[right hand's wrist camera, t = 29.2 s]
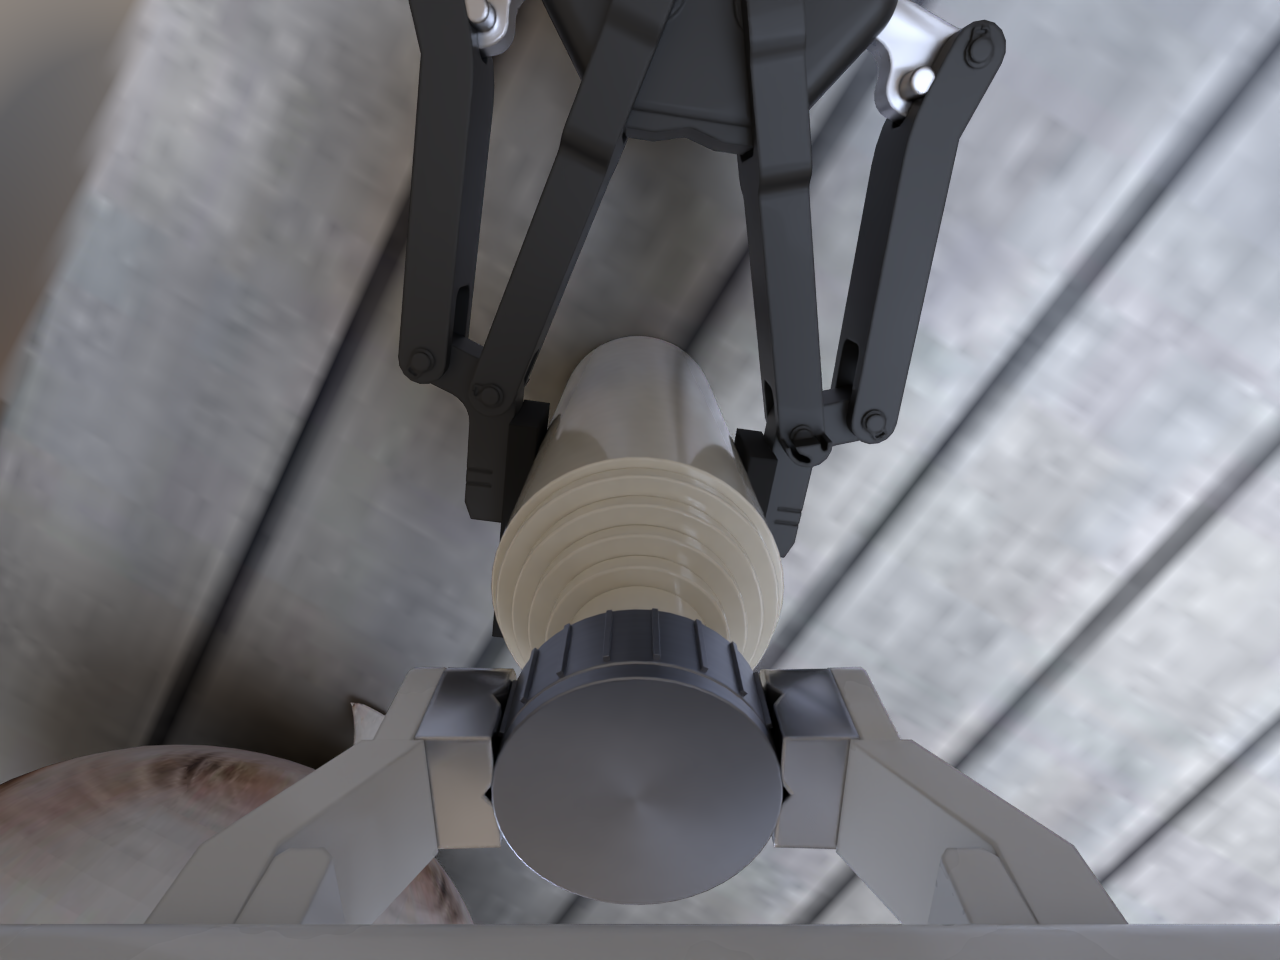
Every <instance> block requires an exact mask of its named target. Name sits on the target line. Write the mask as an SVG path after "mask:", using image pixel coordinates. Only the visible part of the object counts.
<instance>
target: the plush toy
mask: <svg viewBox="0 0 1280 960" xmlns="http://www.w3.org/2000/svg"><path fill="white" fill-rule="evenodd" d="M350 703H351V705H352V710H353V717H354V743H353V746H354V745H355V744H357V743H358V742H360V741H361V740H373V738H374V736H375V734H376V732H377V730H378V728H379V727H380V725H381V723H382V721H383V719H384V717H385V715H383V714H381V713H380V712H378V711H376V710H374V709H372V708H370V707H368V706H366V705H364V704H360V703H353V702H350ZM313 771H315V769H313V768H310V767H307V766H304V765H301V764H299V763H296V762H293V761H290V760H286V759H282V758H278V757H274V756H271V755H267V754H263V753H257V752H252V751H247V750H241V749H236V748H227V747H218V746H209V745H155V746H140V747H133V748H126V749H119V750H112V751H107V752H102V753H97V754H92V755H87V756H82V757H77V758H74V759H70V760H67V761H63V762H60V763H56V764H53V765H49V766H46V767H43V768H40V769H38V770H35V771H32V772H30V773H27V774H24V775H22V776H19V777H16V778H14V779H11V780H9V781H7V782H5V783H3V784H1V785H0V924H144V922H145V921H146V919H147V918H148V917H149V915H150V914H151V912H152V911H153V910H154V908H155V907H156V905H157V904H158V903H159V901H160V900H161V898H162V897H163V896H164V894H165V893H166V891H167V890H168V889H169V887H170V886H171V884H172V883H173V882H174V880H175V879H176V877H177V876H178V875H179V873H180V872H181V870H182V869H183V868H184V866H185V865H186V863H187V862H188V861H189V859H190V858H191V856H192V855H193V854H194V852H195V851H196V849H197V848H198V847H199V845H200V844H201V843H203V842H205V841H206V840H208V839H209V838H211V837H212V836H214V835H215V834H217V833H219V832H220V831H222V830H223V829H225V828H226V827H228V826H229V825H231V824H233V823H234V822H236V821H237V820H239V819H240V818H242V817H243V816H245V815H246V814H248V813H250V812H251V811H253V810H254V809H256V808H257V807H259V806H260V805H262V804H264V803H265V802H267V801H268V800H270V799H271V798H273V797H274V796H276V795H278V794H279V793H281V792H282V791H284V790H285V789H287V788H288V787H290V786H292V785H293V784H295V783H296V782H298V781H299V780H301V779H302V778H304V777H306V776H307V775H309V774H310V773H312V772H313ZM372 924H474V923H473V921H472V918H471V916H470V914H469V911H468V909H467V907H466V904H465V903H464V901H463V899H462V897H461V896H460V894H459V892H458V890H457V889H456V887H455V885H454V884H453V882H452V880H451V879H450V878H449V876H448V875H447V873H446V872H445V871H444V869H443V868H442V866H441V865H440V863H439V862H438V861H437V859H436V858H435V857H434V858H433V859H432V860H431V861H430V862H429V863H428V864H427V865H426V866H425V868H424V869H423V870H422V871H421V872H420V873H419V874H418V875H417V876H416V877H415V878H414V879H413V880H412V881H411V883H410V884H409V885H408V886H407V887H406V888H405V889H404V890H403V891H402V892H401V893H400V894H399V895H398V897H397V898H396V899H395V900H394V901H393V902H392V903H391V904H390V905H389V906H388V907H387V908H386V909H385V911H384V912H383V913H382V914H381V915H380V916H379V917H378V918H377V919H376V920H375V921H374V922H373V923H372Z"/></svg>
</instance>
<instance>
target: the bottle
mask: <svg viewBox="0 0 1280 960" xmlns="http://www.w3.org/2000/svg"><path fill="white" fill-rule="evenodd" d="M491 590H492V602H493V607H494V611H495V615H496V620H497V622H498V625H499V627H500V630H501V632H502V635H503V637H504V640H505V642H506V645H507V647H508V649H509V650H510V652H511V654H512V656H513V658H514V659H515V661H516V662H517V664H518V665H519V666H520V668H521V669H522V670H523V668H524V666H525V665H526V663H527V662H528V661H529V659H530V656H531V652H532V650H533V649H534V648H537V649H539V648H540V647H541V645H542V644H544V643H545V642H546V641H547V640H549V639H550V638H551V637H552V636H554V635H555V634H556V633H558V632H560V631H561V630H563V629H564V626H565V625H566V624H568V623H570V625H572V624H574V623H576V622H578V621H580V620H583V619H585V618H588V617H591V616H594V615H598V614H601V613H606V611H607V610H612V611H617V610H628V609H647V610H652V608H656V609H658V611H664V612H670V613H673V614H677V615H681V616H684V617H687V618H690V619H692V620H694V621H695V620H696V619H698V620H700V621H701V622H702V624H703V625H705V626H707V627H709V628H710V629H712V630H714V631H716V632H717V633H718V634H720V635H721V636H722V637H724V638H725V639H726V640H728V641H729V642H730V643H731V642H732V641H733V642H734V643H736V645H737V649H738V651H739V652H740V653H741V654H742V656H743V657H744V658H745V660H746V661H747V662H748V664H749V665H750V667H751V669H752V671H753V669H754V668H755V667H756V665H757V664H758V663H759V661H760V660H761V658H762V656H763V654H764V653H765V651H766V649H767V647H768V645H769V643H770V640H771V638H772V636H773V633H774V631H775V628H776V626H777V623H778V620H779V617H780V613H781V608H782V604H783V593H784V577H783V567H782V563H781V558H780V554H779V550H778V548H777V545H776V543H775V540H774V537H773V535H772V533H771V530H770V528H769V525H768V523H767V521H766V518H765V516H764V513H763V511H762V509H761V506H760V504H759V502H758V499H757V497H756V494H755V492H754V490H753V487H752V485H751V482H750V480H749V478H748V475H747V473H746V471H745V468H744V466H743V463H742V461H741V459H740V456H739V454H738V451H737V449H736V447H735V444H734V442H733V440H732V437H731V435H730V432H729V430H728V428H727V425H726V423H725V420H724V418H723V416H722V413H721V411H720V409H719V406H718V404H717V401H716V399H715V397H714V394H713V392H712V389H711V387H710V385H709V382H708V380H707V378H706V376H705V374H704V372H703V371H702V369H701V368H700V367H699V365H698V364H697V363H696V362H695V360H694V359H693V358H692V357H691V356H690V355H688V354H687V353H686V352H685V351H683V350H682V349H680V348H679V347H677V346H675V345H674V344H672V343H669V342H667V341H664V340H661V339H658V338H654V337H647V336H629V337H622V338H619V339H615V340H612V341H609V342H607V343H605V344H602V345H601V346H599V347H597V348H596V349H594V350H593V351H592V352H590V353H589V354H588V355H586V356H585V358H584V359H583V360H582V361H581V362H580V363H579V364H578V365H577V367H576V368H575V369H574V371H573V373H572V374H571V376H570V378H569V380H568V383H567V385H566V387H565V390H564V392H563V394H562V397H561V399H560V401H559V404H558V406H557V408H556V411H555V413H554V415H553V418H552V420H551V423H550V425H549V427H548V430H547V432H546V434H545V437H544V439H543V441H542V444H541V446H540V448H539V451H538V453H537V455H536V458H535V460H534V463H533V465H532V467H531V470H530V472H529V474H528V477H527V479H526V481H525V484H524V486H523V488H522V491H521V493H520V496H519V498H518V500H517V503H516V505H515V507H514V510H513V512H512V514H511V517H510V519H509V521H508V524H507V526H506V528H505V531H504V533H503V536H502V538H501V541H500V543H499V546H498V549H497V551H496V555H495V559H494V564H493V569H492V582H491Z"/></svg>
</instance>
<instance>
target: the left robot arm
mask: <svg viewBox="0 0 1280 960" xmlns="http://www.w3.org/2000/svg"><path fill="white" fill-rule="evenodd" d="M524 1H525V0H409V4H410V9H411V13H412V17H413V22H414V26H415V30H416V35H417V39H418V43H419V47H420V52H421V60H420V73H419V87H418V100H417V113H416V127H415V140H414V154H413V167H412V180H411V194H410V207H409V220H408V234H407V247H406V261H405V274H404V287H403V301H402V314H401V327H400V341H399V354H398V358H399V366H400V368H401V369H402V371H403V373H404V375H406V376H407V377H408V378H409V379H410V380H412V381H414V382H417V383H419V384H429V383H431V384H433V385H435V386H437V387H439V388H441V389H443V390H445V391H447V392H449V393H451V394H453V395H454V396H456V397H457V398H458V399H459V400H460V401H461V402H462V403H463V404H464V406H465V407H466V409H467V412H468V415H469V439H468V456H467V474H466V491H465V504H466V506H467V509H468V512H469V515H470V518H471V519H476V520H484V521H492V522H500V523H501V532H500V541H501V538H502V536H503V533H504V531H505V528H506V526H507V524H508V521H509V519H510V517H511V514H512V512H513V510H514V507H515V505H516V503H517V500H518V498H519V496H520V493H521V491H522V488H523V486H524V484H525V481H526V479H527V477H528V474H529V472H530V470H531V467H532V465H533V463H534V460H535V458H536V455H537V453H538V451H539V448H540V446H541V444H542V441H543V439H544V437H545V434H546V432H547V426H548V416H549V406H550V403H545V402H537V401H530V400H524V402H523V395H524V387H525V386H526V384H527V383H528V381H529V380H530V379H529V376H530V374H531V371H532V369H533V366H534V364H535V361H536V359H537V357H538V354H539V352H540V349H541V347H542V344H543V342H544V339H545V337H546V335H547V332H548V330H549V327H550V325H551V322H552V320H553V317H554V315H555V313H556V310H557V308H558V305H559V303H560V300H561V298H562V295H563V293H564V291H565V288H566V286H567V283H568V281H569V278H570V276H571V273H572V271H573V269H574V266H575V264H576V261H577V259H578V256H579V254H580V251H581V249H582V247H583V244H584V242H585V239H586V237H587V234H588V232H589V229H590V227H591V225H592V222H593V220H594V217H595V215H596V212H597V210H598V207H599V205H600V203H601V200H602V198H603V195H604V193H605V190H606V188H607V185H608V183H609V181H610V178H611V176H612V174H613V172H614V170H615V168H616V166H617V164H618V161H619V159H620V156H621V154H622V152H623V149H624V147H625V144H626V142H627V139H628V137H629V138H635V139H642V140H648V141H661V140H668V139H675V138H683V137H684V138H688V139H690V140H692V141H695V142H697V143H699V144H701V145H703V146H705V147H707V148H709V149H711V150H714V151H719V152H726V153H732V154H737V159H738V169H739V179H740V186H741V190H742V193H743V197H744V204H745V215H746V225H747V235H748V246H749V256H750V267H751V277H752V287H753V298H754V308H755V318H756V329H757V339H758V350H759V360H760V370H761V381H762V391H763V401H764V412H765V419H766V422H767V423H766V428H765V433H764V435H763V433H762V432H760V431H753V430H745V429H738V428H737V432H736V437H735V442H734V444H735V447H736V449H737V451H738V454H739V456H740V459H741V461H742V463H743V466H744V468H745V471H746V473H747V475H748V478H749V480H750V482H751V485H752V487H753V490H754V492H755V494H756V497H757V499H758V502H759V504H760V506H761V509H762V511H763V513H764V516H765V518H766V521H767V523H768V525H769V528H770V530H771V533H772V535H773V537H774V540H775V543H776V545H777V548H778V550H779V554H780V557H783V558H784V557H785V556H786V554H787V553H788V551H789V550H790V549H791V547H792V546H793V544H794V543H795V538H796V534H797V530H798V524H799V521H800V517H801V511H802V509H803V505H804V500H805V496H806V492H807V488H808V483H809V479H810V475H811V471H812V467H813V466H816V465H819V464H821V463H822V462H823V461H824V460H826V459H827V457H828V456H829V454H830V452H831V449H832V446H835V445H839V444H844V443H849V442H854V441H859V440H860V441H861V442H864V443H868V444H875V443H880V442H882V441H884V440H886V439H887V438H888V437H889V436H890V435H891V434H892V433H893V431H894V429H895V427H896V424H897V420H898V415H899V411H900V406H901V402H902V397H903V393H904V388H905V383H906V379H907V374H908V370H909V365H910V361H911V356H912V352H913V347H914V343H915V338H916V333H917V329H918V324H919V320H920V315H921V311H922V306H923V302H924V297H925V292H926V288H927V283H928V279H929V274H930V270H931V265H932V261H933V256H934V252H935V247H936V242H937V238H938V233H939V229H940V224H941V220H942V215H943V211H944V206H945V202H946V197H947V192H948V188H949V183H950V179H951V174H952V170H953V165H954V161H955V156H956V151H957V147H958V142H959V139H960V137H961V135H962V133H963V131H964V130H965V128H966V126H967V124H968V122H969V121H970V119H971V117H972V115H973V114H974V112H975V110H976V108H977V106H978V105H979V103H980V101H981V99H982V98H983V96H984V94H985V92H986V90H987V89H988V87H989V85H990V83H991V82H992V80H993V78H994V76H995V74H996V73H997V71H998V69H999V67H1000V66H1001V64H1002V61H1003V58H1004V55H1005V53H1006V40H1005V37H1004V34H1003V32H1002V30H1001V29H1000V28H999V27H998V26H997V25H996V24H995V23H994V22H990V21H987V20H981V21H975V22H972V23H971V24H969V25H967V26H966V27H964V28H962V29H959V28H957V27H955V26H953V25H952V24H950V23H948V22H946V21H945V20H943V19H941V18H940V17H938V16H936V15H934V14H933V13H931V12H929V11H928V10H926V9H924V8H922V7H921V6H919V5H917V4H916V3H914V2H912V1H910V0H542V2H543V4H544V6H545V8H546V10H547V12H548V14H549V16H550V18H551V20H552V22H553V24H554V26H555V28H556V30H557V32H558V34H559V36H560V38H561V40H562V42H563V44H564V46H565V48H566V50H567V52H568V54H569V56H570V58H571V60H572V62H573V64H574V66H575V68H576V70H577V73H578V75H579V77H580V79H581V84H580V87H579V89H578V92H577V94H576V97H575V100H574V102H573V105H572V108H571V110H570V113H569V116H568V118H567V121H566V124H565V127H564V130H563V133H562V137H561V142H560V146H559V150H558V153H557V156H556V158H555V161H554V163H553V166H552V169H551V171H550V174H549V177H548V179H547V182H546V184H545V187H544V190H543V192H542V195H541V198H540V200H539V203H538V205H537V208H536V211H535V213H534V216H533V219H532V221H531V224H530V226H529V229H528V232H527V234H526V237H525V240H524V242H523V245H522V247H521V250H520V253H519V255H518V258H517V261H516V263H515V266H514V268H513V271H512V274H511V276H510V279H509V282H508V284H507V287H506V290H505V292H504V295H503V297H502V300H501V303H500V305H499V308H498V311H497V313H496V316H495V318H494V321H493V324H492V326H491V329H490V332H489V334H488V337H487V339H486V342H485V345H484V347H483V346H481V345H479V344H477V343H475V342H473V341H472V340H470V339H468V335H469V326H470V316H471V307H472V298H473V288H474V279H475V270H476V261H477V251H478V242H479V233H480V224H481V214H482V205H483V196H484V187H485V177H486V168H487V159H488V150H489V140H490V131H491V122H492V113H493V100H494V70H493V60H492V56H495V55H498V54H501V53H503V52H504V51H506V50H507V49H508V48H509V47H510V45H511V44H512V42H513V39H514V36H515V22H516V15H517V12H518V9H519V7H520V6H521V4H522V3H523V2H524ZM865 49H867V50H868V51H869V52H870V53H872V55H873V56H874V58H875V60H876V62H877V66H878V79H877V83H876V87H875V91H874V101H875V104H876V108H877V109H878V111H879V112H880V113H881V114H882V115H883V116H884V117H886V118H887V119H886V121H885V123H884V125H883V128H882V130H881V133H880V136H879V139H878V142H877V145H876V149H875V153H874V157H873V161H872V165H871V171H870V176H869V182H868V187H867V193H866V198H865V204H864V209H863V215H862V220H861V226H860V231H859V236H858V242H857V247H856V253H855V258H854V264H853V269H852V275H851V280H850V286H849V291H848V297H847V302H846V307H845V313H844V318H843V324H842V329H841V335H840V340H839V346H838V351H837V357H836V362H835V368H834V373H833V379H832V384H831V389H829V390H824V391H822V377H821V362H820V347H819V332H818V317H817V302H816V287H815V272H814V257H813V242H812V227H811V212H810V197H809V184H810V179H811V175H812V150H811V134H810V119H809V109H810V108H811V107H812V106H813V105H814V104H815V103H816V102H817V101H818V100H819V99H820V98H821V96H822V95H823V94H824V93H825V92H826V91H827V90H828V89H829V88H830V87H831V86H832V85H833V84H834V83H835V81H836V80H837V79H838V78H839V77H840V76H841V75H842V74H843V73H844V72H845V71H846V70H847V69H848V67H849V66H850V65H851V64H852V63H853V62H854V61H855V60H856V59H857V58H858V57H859V56H860V55H861V54H862V52H863V51H864V50H865ZM492 636H495V637H503V635H502V632H501V630H500V627H499V625H498V622H497V620H496V615H495V611H494V621H493V634H492ZM503 638H504V637H503Z"/></svg>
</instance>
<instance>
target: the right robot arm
mask: <svg viewBox="0 0 1280 960" xmlns="http://www.w3.org/2000/svg"><path fill="white" fill-rule="evenodd" d="M760 679H761V683H762V687H763V690H764V694H765V698H766V702H767V705H768V709H769V713H770V717H771V721H772V724H773V728H771V731H772V735H773V739H774V743H775V747H776V751H777V755H778V758H779V762H780V766H781V773H782V779H783V801H782V807H781V813H780V816H779V819H778V822H777V825H776V827H775V829H774V831H773V833H772V835H771V836H772V840H773V845H774V847H781V848H816V849H836V852H837V854H838V855H839V856H840V857H841V858H842V859H843V860H844V861H845V862H846V863H847V864H848V866H849V867H850V868H851V869H852V870H853V871H854V872H855V873H856V874H857V875H858V876H859V878H860V879H861V880H862V881H863V882H864V883H865V884H866V885H867V886H868V887H869V888H870V890H871V891H872V892H873V893H874V894H875V895H876V896H877V897H878V898H879V899H880V900H881V901H882V903H883V904H884V905H885V906H886V907H887V908H888V909H889V910H890V911H891V912H892V913H893V915H894V916H895V917H896V918H897V919H898V920H899V921H900V922H901V923H902V924H372V923H373V922H374V921H375V920H376V919H377V918H378V917H379V916H380V915H381V914H382V913H383V912H384V911H385V909H386V908H387V907H388V906H389V905H390V904H391V903H392V902H393V901H394V900H395V899H396V898H397V897H398V895H399V894H400V893H401V892H402V891H403V890H404V889H405V888H406V887H407V886H408V885H409V884H410V883H411V881H412V880H413V879H414V878H415V877H416V876H417V875H418V874H419V873H420V872H421V871H422V870H423V869H424V868H425V866H426V865H427V864H428V863H429V862H430V861H431V860H432V859H433V858H434V857H435V856H436V855H437V854H438V849H458V848H492V847H501V843H502V839H503V835H502V833H501V831H500V829H499V826H498V824H497V821H496V818H495V815H494V810H493V805H492V801H491V781H492V774H493V769H494V765H495V761H496V757H497V754H498V750H499V746H500V742H501V738H502V737H499V736H498V733H499V729H500V726H501V722H502V718H503V714H504V710H505V707H506V703H507V699H508V696H509V692H510V689H511V685H512V681H513V680H516V674H515V671H514V669H497V668H451V667H448V668H445V667H415V668H413V669H411V670H410V671H409V672H408V673H407V675H406V677H405V679H404V681H403V682H402V684H401V686H400V688H399V690H398V692H397V694H396V696H395V698H394V700H393V702H392V704H391V705H390V707H389V709H388V711H387V713H386V715H385V717H384V719H383V721H382V723H381V725H380V727H379V728H378V730H377V732H376V734H375V736H374V738H373V740H361V741H360V742H358V743H357V744H355V745H354V746H352V747H351V748H349V749H347V750H346V751H344V752H343V753H341V754H340V755H338V756H337V757H335V758H333V759H332V760H330V761H329V762H327V763H326V764H324V765H323V766H321V767H319V768H318V769H316V770H315V771H313V772H312V773H310V774H309V775H307V776H306V777H304V778H302V779H301V780H299V781H298V782H296V783H295V784H293V785H292V786H290V787H288V788H287V789H285V790H284V791H282V792H281V793H279V794H278V795H276V796H274V797H273V798H271V799H270V800H268V801H267V802H265V803H264V804H262V805H260V806H259V807H257V808H256V809H254V810H253V811H251V812H250V813H248V814H246V815H245V816H243V817H242V818H240V819H239V820H237V821H236V822H234V823H233V824H231V825H229V826H228V827H226V828H225V829H223V830H222V831H220V832H219V833H217V834H215V835H214V836H212V837H211V838H209V839H208V840H206V841H205V842H203V843H201V844H200V845H199V847H198V848H197V849H196V851H195V852H194V854H193V855H192V856H191V858H190V859H189V861H188V862H187V863H186V865H185V866H184V868H183V869H182V870H181V872H180V873H179V875H178V876H177V877H176V879H175V880H174V882H173V883H172V884H171V886H170V887H169V889H168V890H167V891H166V893H165V894H164V896H163V897H162V898H161V900H160V901H159V903H158V904H157V905H156V907H155V908H154V910H153V911H152V912H151V914H150V915H149V917H148V918H147V919H146V921H145V922H144V924H0V960H1280V924H1128V923H1127V921H1126V920H1125V918H1124V917H1123V915H1122V914H1121V913H1120V911H1119V910H1118V908H1117V907H1116V905H1115V904H1114V902H1113V901H1112V900H1111V898H1110V897H1109V895H1108V894H1107V892H1106V891H1105V890H1104V888H1103V887H1102V885H1101V884H1100V882H1099V881H1098V879H1097V878H1096V877H1095V875H1094V874H1093V872H1092V871H1091V869H1090V868H1089V867H1088V865H1087V864H1086V862H1085V861H1084V859H1083V858H1082V856H1081V855H1080V854H1079V852H1078V851H1077V849H1076V848H1075V846H1074V845H1072V844H1071V843H1069V842H1068V841H1066V840H1065V839H1063V838H1061V837H1060V836H1058V835H1057V834H1055V833H1054V832H1052V831H1051V830H1049V829H1048V828H1046V827H1045V826H1043V825H1042V824H1040V823H1038V822H1037V821H1035V820H1034V819H1032V818H1031V817H1029V816H1028V815H1026V814H1025V813H1023V812H1022V811H1020V810H1019V809H1017V808H1015V807H1014V806H1012V805H1011V804H1009V803H1008V802H1006V801H1005V800H1003V799H1002V798H1000V797H999V796H997V795H996V794H994V793H992V792H991V791H989V790H988V789H986V788H985V787H983V786H982V785H980V784H979V783H977V782H976V781H974V780H972V779H971V778H969V777H968V776H966V775H965V774H963V773H962V772H960V771H959V770H957V769H956V768H954V767H953V766H951V765H949V764H948V763H946V762H945V761H943V760H942V759H940V758H939V757H937V756H936V755H934V754H933V753H931V752H930V751H928V750H926V749H925V748H923V747H922V746H920V745H919V744H917V743H916V742H914V741H913V740H901V738H900V736H899V734H898V732H897V730H896V728H895V726H894V724H893V722H892V720H891V718H890V717H889V715H888V713H887V711H886V709H885V707H884V705H883V703H882V701H881V699H880V697H879V695H878V693H877V691H876V689H875V688H874V686H873V684H872V682H871V680H870V678H869V676H868V674H867V672H866V670H864V669H863V668H861V667H841V668H827V669H773V670H760Z"/></svg>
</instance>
